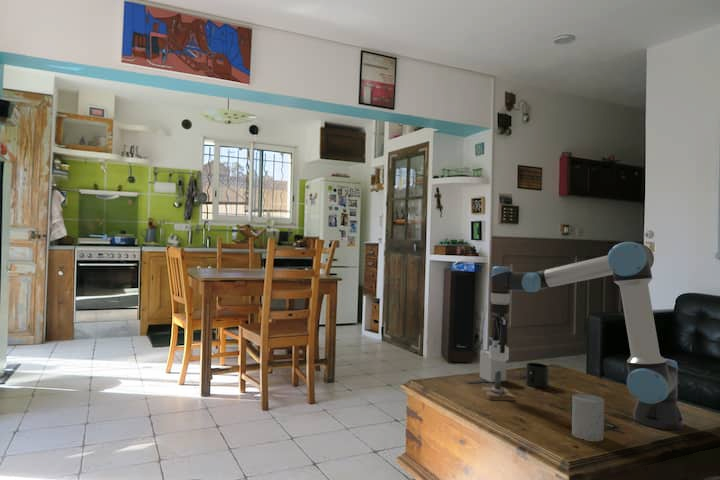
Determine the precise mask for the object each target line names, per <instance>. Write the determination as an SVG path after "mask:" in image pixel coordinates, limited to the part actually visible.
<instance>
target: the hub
mask: <svg viewBox="0 0 720 480" xmlns="http://www.w3.org/2000/svg"><path fill="white" fill-rule="evenodd" d="M488 350H489V358H490V359H491V360H496V361H498V345H492V344H491V345H490V344H489V345H488ZM509 352H510V348H509V347H508V346H506V345H505V361H506V362H507V361H509V357H510V355H509Z"/></svg>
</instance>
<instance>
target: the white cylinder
mask: <svg viewBox="0 0 720 480" xmlns="http://www.w3.org/2000/svg"><path fill="white" fill-rule="evenodd" d="M571 397H572V398H571V399H572V400H571V401H572V405H571V408H572V410H571V411H572V412H571V435H572V436H573V437H574V438H576V439H579V438H580V440H582V439H584V440H583V441H586V442H595V441H596V442H602V441H604V440H605V436H604V435H605V431H604V430H605V401H606V400H605V399H604V398H603V397H601V396H598V395H595V394H592V393H591V394H590V393H580V392H579V393H574V394H572V396H571ZM603 439H604V440H603ZM601 440H602V441H601Z"/></svg>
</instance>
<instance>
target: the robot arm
mask: <svg viewBox="0 0 720 480" xmlns="http://www.w3.org/2000/svg"><path fill="white" fill-rule="evenodd" d="M654 261H655V257H654V253H653V252H652V250H651V249H650V248H649V247H648V246H647V245H645V244H643V243H640V242H635V241H623V242H620V243H618V244H615V245H614V246H613V247H611V249H610V250H609V252H608V253H607V255H604V256H603V255H602V256H599V257H595V258H591V259H587V260H581V261H577V262H573V263H568V264H565V265H560V266H555V267H552V268H548V269H543V270H538V271H533V272H531V271H530V272H529V271H527V272H525V271H524V272H523V271H522V272H521V271H511V267H509V266H496V265H495V266H493V267H492V268H491V276H490V279H491V281H490V283H491V284H490V286H491V287H490V302H491V303H490V312H491V313H493V314H492V318H491V321H492V323H491V324H492V325H491V336H490V338H492V339H493V340H494V341H493V345H498V361H505V346H506V345H508V319H506V315H507V314H510V299H511V298H512V296H511V295H510V294H511V293H510V292H511V291H520V292H528V293H532V292H533V293H537V292H538V291H541V290H542V291H543V290H545V289H548V288H552V287H558V286H562V285H568V284H573V283H578V282H582V281H588V280H593V279H597V278H602V277H608V276H612V275H613V276H612V277H613V283H614V284H616V285H618V287H619V289H620V295H621V302H622V308H623V313H624V314H623V315H624V320H625V327H626V332H627V333H626V334H627V338H628V345H629V351H630V356H629V358H628V359H627V360H626V364H627V371H628V375H627V378H626V386H627V390H628V391H629V393H630V395H632V396H633V398H635V399H637V402H636V404H635V406H634V409H633V411H632V412H633V414H632V419H633V420H634V421H635V422H637V423H639V424H640V425H645V426H648V427H651V428H655V429H660V428H661V429H662V430H668V429H671V430H670V431H672V429H673V430H674V431H675V429H677V430H681V429H683V428H684V419H683V417H682V416H683V415H682V414H681V410H680V408H679V405H678V372H679V366H678V363H677V361H676V360H673V359H669V358H664V357H663V356H661V353H660V347H659V342H658V340H659V339H658V335H657V330H656V329H657V328H656V324H655V318H654V310H653V306H652V299H651V294H650V288H649V284H650V282H651V281H652V280H653V275H652V269H651V268H652V267H653V265H654ZM682 427H683V428H682Z"/></svg>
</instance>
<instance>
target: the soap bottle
mask: <svg viewBox="0 0 720 480" xmlns="http://www.w3.org/2000/svg"><path fill="white" fill-rule="evenodd" d="M486 338H487V339H488V340H489V341H491V345H493V341H494V340H493V339H492V337H491V336H490V337H489V336H487V337H486ZM479 359H480V360H479V367H480V368H479V378H481V379H483V380H484V381H487V382H490V383H495V371H501V382H506V381H507V361H496V360H491V359H490V358H489V349H481V350H480V356H479Z"/></svg>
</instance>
